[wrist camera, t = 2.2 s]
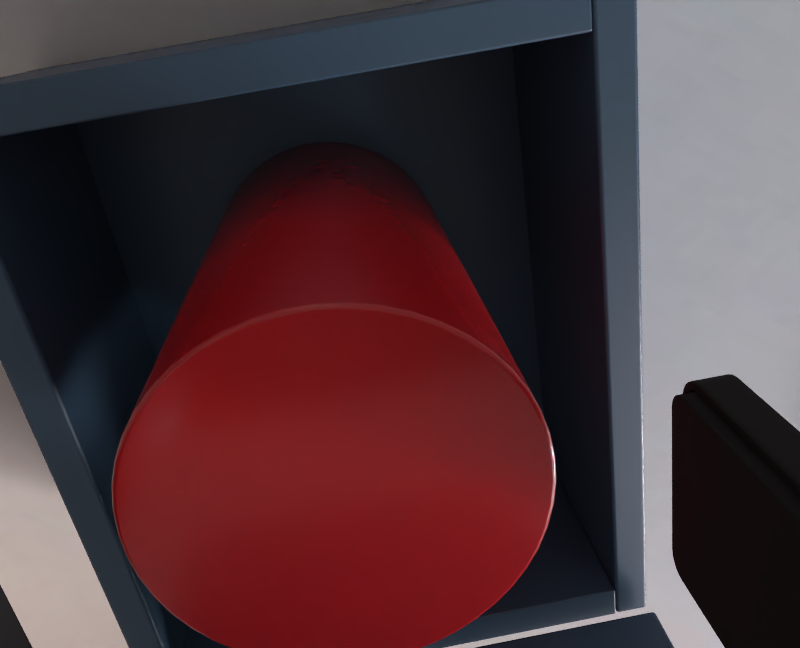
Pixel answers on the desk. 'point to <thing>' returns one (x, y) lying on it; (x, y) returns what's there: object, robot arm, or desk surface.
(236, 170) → the blue rectangular box
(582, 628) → the lid
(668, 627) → the desk surface
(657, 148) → the desk surface
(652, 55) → the desk surface
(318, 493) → the can
